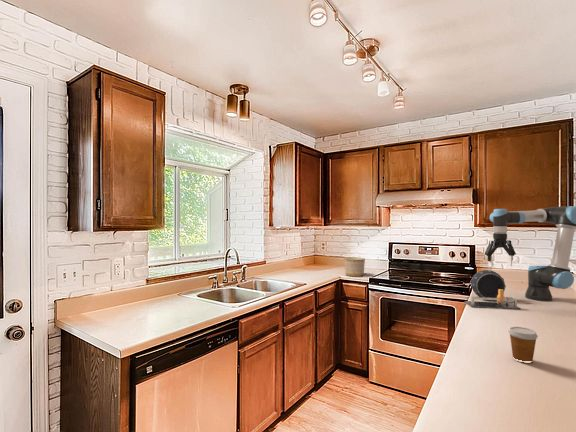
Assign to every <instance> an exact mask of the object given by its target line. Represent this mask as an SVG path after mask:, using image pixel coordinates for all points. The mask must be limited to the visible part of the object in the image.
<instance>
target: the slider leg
mask: <svg viewBox="0 0 576 432" xmlns="http://www.w3.org/2000/svg"><path fill="white" fill-rule="evenodd" d="M504 292H505V291H504V290H502V289H498V295H497V298H499V300H496V302H497V304H499V302H506V300H505V298H506V296H505V295H504V294H505V293H504Z"/></svg>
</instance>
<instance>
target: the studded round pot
mask: <svg viewBox="0 0 576 432" xmlns="http://www.w3.org/2000/svg"><path fill="white" fill-rule="evenodd" d="M470 285H471V290H472V291H473V292H474V294H475V295H476V297H491V298H497V295H498V289H502V290H504V292H505V290H506V287H507V286H506V283H505V279H504V277H502V276H501V274H499V273H497V272H496V271H493V270H491V269H490V270H489V269H484V270H479V271H477V272H476V273H475V274H474V275H473V276H472V277H471V282H470Z"/></svg>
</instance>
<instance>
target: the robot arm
mask: <svg viewBox="0 0 576 432" xmlns="http://www.w3.org/2000/svg"><path fill="white" fill-rule="evenodd" d="M489 221H490V222H491V223H493V225H492V226H493V227H492V228H493V229H492V230H493V231H492V232H493V235H492V236H493V237H492V238H493V240H489V241H488V245H487V247H486V249H485V251H484V256H486V257H487V261H488V267H489V268H490V267H491V268H493V265H494V264H493V263H494V260H493V259H494V258H493V254H494V253H495V251H497V249H500V248H503V250H504V251H505V252H506V253H507V254H508V255H507V267H513V260H514V258H513V257H514V256H515V255H517V253H516V251H515V249H514V247H513V244H512V240H508V224H512V225H513V224H518V225H519V224H523V223H528V222H538V223H547V224H548V223H550V224H555V226H556V228H557V231H556V236H555V237H556V238H555V241H554V242H555V243H554V248H553V252H552V259H551V262H550V263H549V264H548V265H530V266H528V270H527V276H528V277H527V280H528V282H527V283H528V287H527V288H526V290H525V293H524V297H525V298H526V299H529V300H533V301H539V302H552V301H553V296H552V292H551V290H550V287H551V288H555V289H561V290H565V289H569V288H570V287H571V286H572V285H573V283H574V281H575V277H574V275H573V273H572V272H571V268H570V267H569V264H570V259H571V252H572V247H573V241H574V236H575V231H576V206H575V205H573V206H571V205H569V206H551V207H546V208H544V207H543V208H537V209H535V210H517V211H516V210H515V211H512V210H511V211H508V209H506V208H494V209H493V212H491V213H490V215H489Z"/></svg>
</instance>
